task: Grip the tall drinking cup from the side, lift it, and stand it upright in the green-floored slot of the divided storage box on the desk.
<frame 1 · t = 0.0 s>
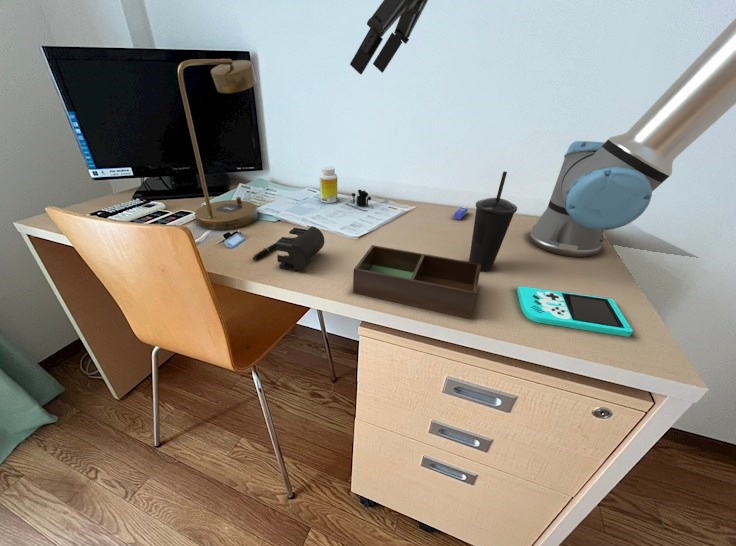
hand: (367, 69, 70), 36 cm above the table, tool tilted 35°, fingers open, 13 cm apart
eraser: (460, 217, 100), on the table
end cap: (302, 262, 78), on the table
handheld game console: (568, 312, 62), on the table
fountain pen: (273, 250, 83), on the table
lamp: (238, 213, 104), on the table
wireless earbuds: (362, 206, 108), on the table
drinking cup: (480, 266, 76), on the table
supplement bottle: (328, 201, 112), on the table
divided storage box: (414, 289, 68), on the table
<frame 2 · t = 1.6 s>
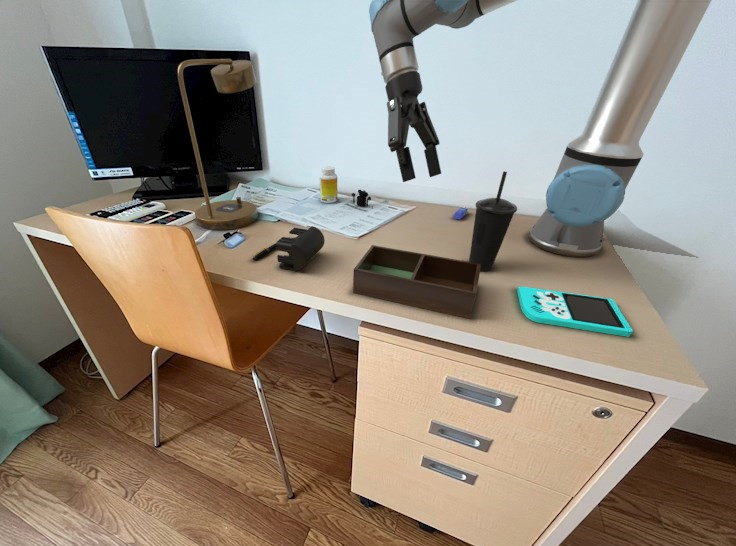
hand: (423, 177, 79), 15 cm above the table, tool tilted 25°, fingers open, 13 cm apart
nothing on the table moved.
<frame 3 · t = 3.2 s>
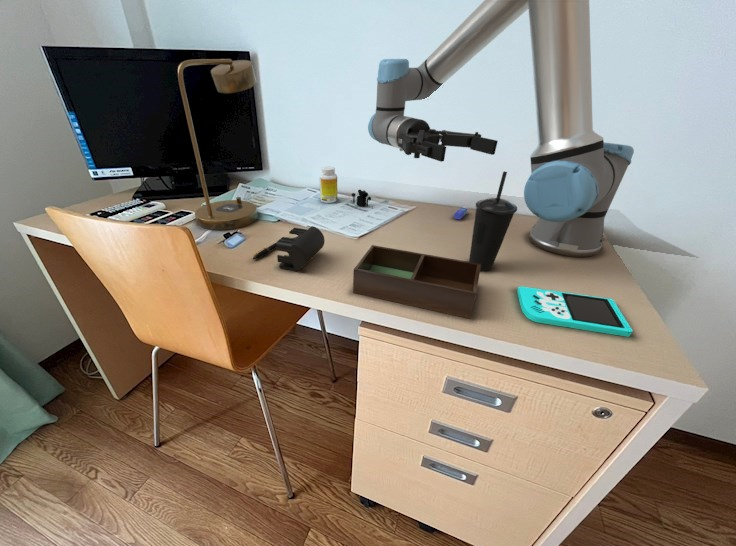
hand: (470, 150, 70), 22 cm above the table, tool horizontal, fingers open, 13 cm apart
nothing on the table moved.
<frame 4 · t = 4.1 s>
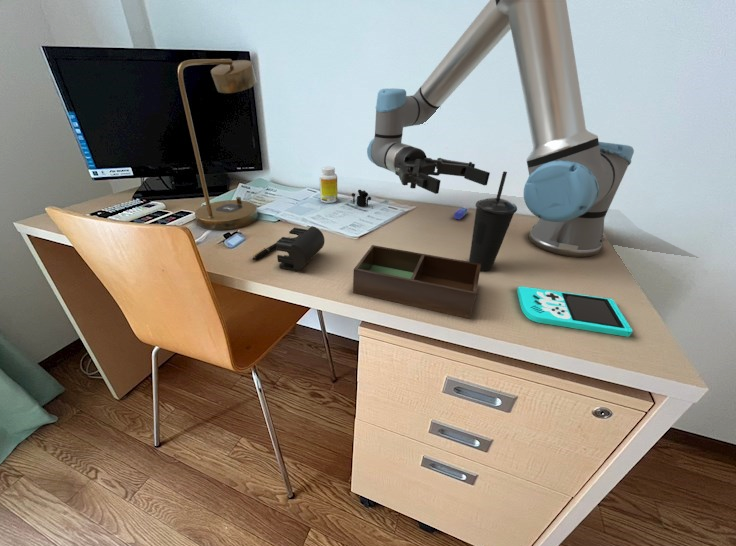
hand: (463, 183, 74), 15 cm above the table, tool horizontal, fingers open, 13 cm apart
nothing on the table moved.
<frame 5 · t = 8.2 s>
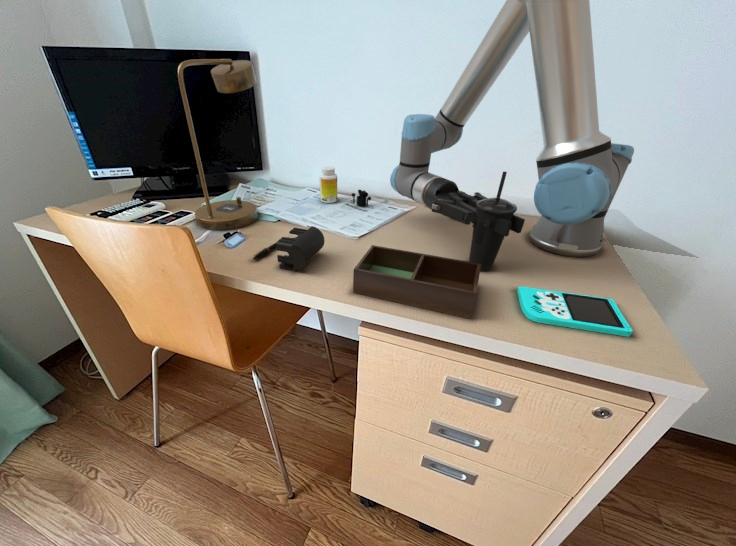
hand: (514, 227, 65), 11 cm above the table, tool horizontal, fingers closed on drinking cup, 3 cm apart
drinking cup: (479, 266, 76), on the table, touching gripper
everything else where it was.
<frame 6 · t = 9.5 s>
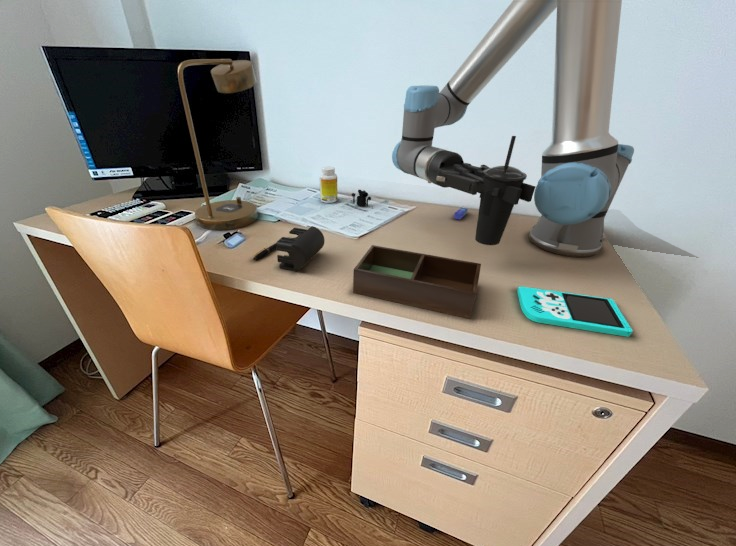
hand: (524, 195, 62), 17 cm above the table, tool horizontal, fingers closed on drinking cup, 3 cm apart
drinking cup: (487, 241, 72), point 6 cm above the table, touching gripper
everything else where it was.
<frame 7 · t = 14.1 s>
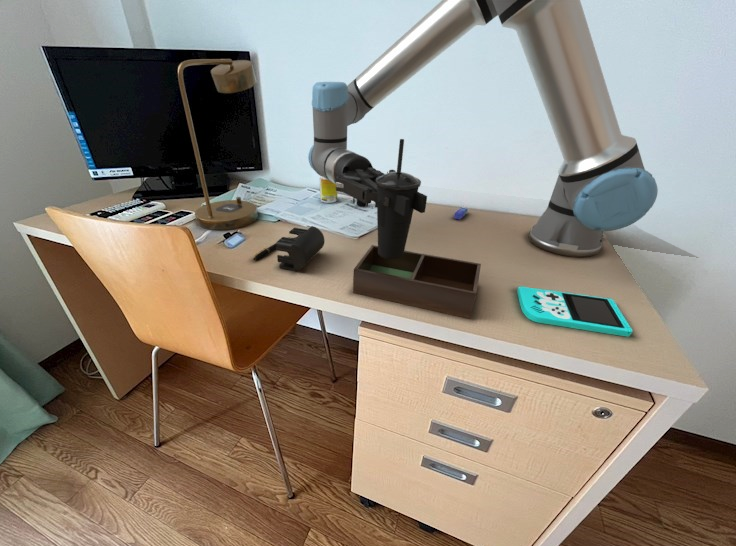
hand: (415, 206, 55), 18 cm above the table, tool horizontal, fingers closed on drinking cup, 3 cm apart
drinking cup: (390, 254, 66), point 7 cm above the table, touching gripper
everything else where it was.
when the fingers open (12 cm above the table, at t = 15.9 s): drinking cup stays where it is, resting on divided storage box.
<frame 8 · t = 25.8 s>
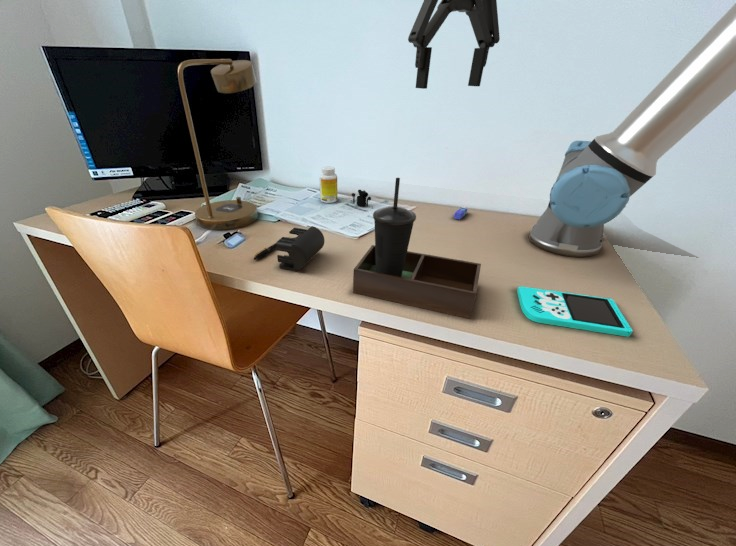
hand: (448, 87, 70), 33 cm above the table, tool pointing down, fingers open, 13 cm apart
drinking cup: (388, 280, 69), point 1 cm above the table, touching divided storage box
everything else where it was.
at the end: drinking cup 0.1 cm from the target spot in the divided storage box, point 0.8 cm above the divided storage box's base; drinking cup tilted 0°; the gripper is holding nothing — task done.
